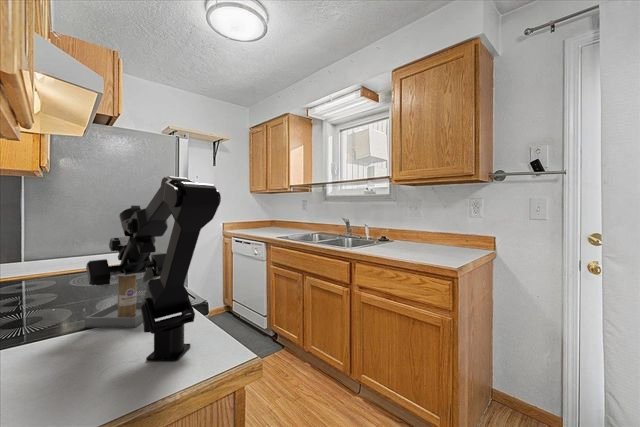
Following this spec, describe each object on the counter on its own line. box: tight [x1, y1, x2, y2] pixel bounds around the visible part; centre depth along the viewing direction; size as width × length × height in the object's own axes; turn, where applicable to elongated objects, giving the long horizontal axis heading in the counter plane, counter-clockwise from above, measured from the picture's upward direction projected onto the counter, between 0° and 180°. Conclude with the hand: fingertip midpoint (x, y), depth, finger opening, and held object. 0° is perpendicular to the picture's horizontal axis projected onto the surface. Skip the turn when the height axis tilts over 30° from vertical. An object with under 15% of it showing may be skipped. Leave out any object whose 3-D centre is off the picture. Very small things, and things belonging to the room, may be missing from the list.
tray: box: [84, 301, 143, 329], centre depth 80 cm, size 13×13×2 cm
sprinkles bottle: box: [117, 273, 138, 317], centre depth 80 cm, size 5×5×14 cm
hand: (125, 285), depth 81 cm, fingers open, 9 cm apart
